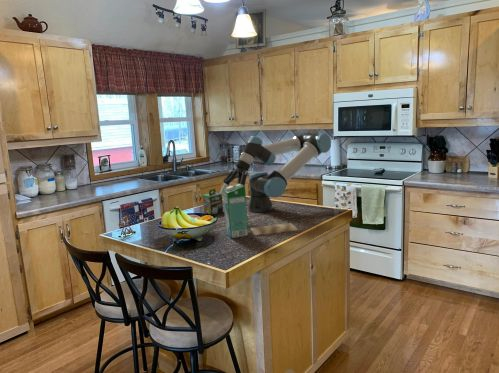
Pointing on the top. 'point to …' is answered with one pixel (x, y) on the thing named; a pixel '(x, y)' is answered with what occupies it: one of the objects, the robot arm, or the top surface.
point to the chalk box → (212, 202)
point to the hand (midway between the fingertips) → (226, 196)
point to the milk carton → (235, 211)
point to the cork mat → (273, 229)
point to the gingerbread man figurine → (126, 225)
